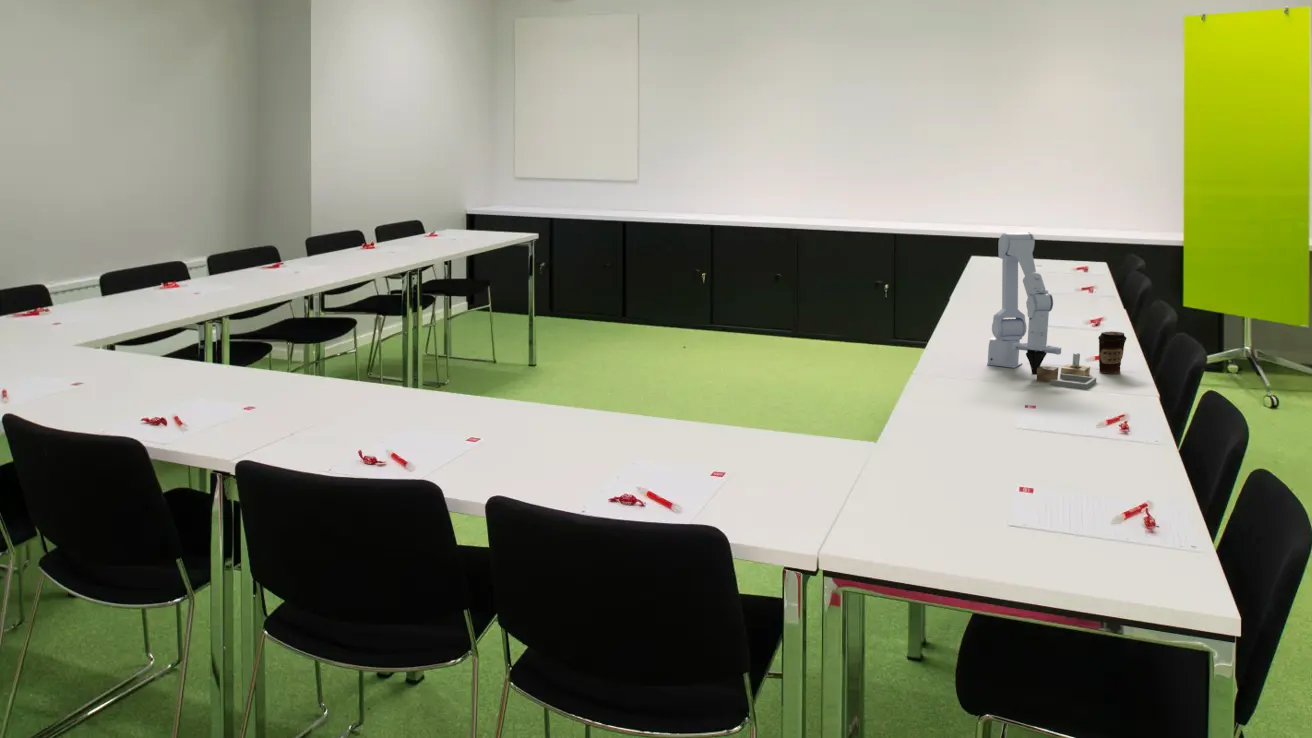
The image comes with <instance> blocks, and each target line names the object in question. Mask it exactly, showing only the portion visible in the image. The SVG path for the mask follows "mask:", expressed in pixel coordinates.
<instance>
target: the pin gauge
mask: <svg viewBox="0 0 1312 738" xmlns="http://www.w3.org/2000/svg"><path fill="white" fill-rule="evenodd" d="M1080 357H1081V354H1080V352H1079V353H1077V352H1075V353H1074V352H1073V355H1072V368H1077V369H1079V365H1080V359H1081V358H1080Z"/></svg>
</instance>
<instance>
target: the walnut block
mask: <svg viewBox="0 0 1312 738" xmlns="http://www.w3.org/2000/svg"><path fill="white" fill-rule="evenodd" d="M1051 379H1053V380H1059V366H1049V365H1042V364H1041V365H1040V367H1039V368H1037V375H1036V381H1037V382H1042V381H1043V383H1050V381H1051Z"/></svg>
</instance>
